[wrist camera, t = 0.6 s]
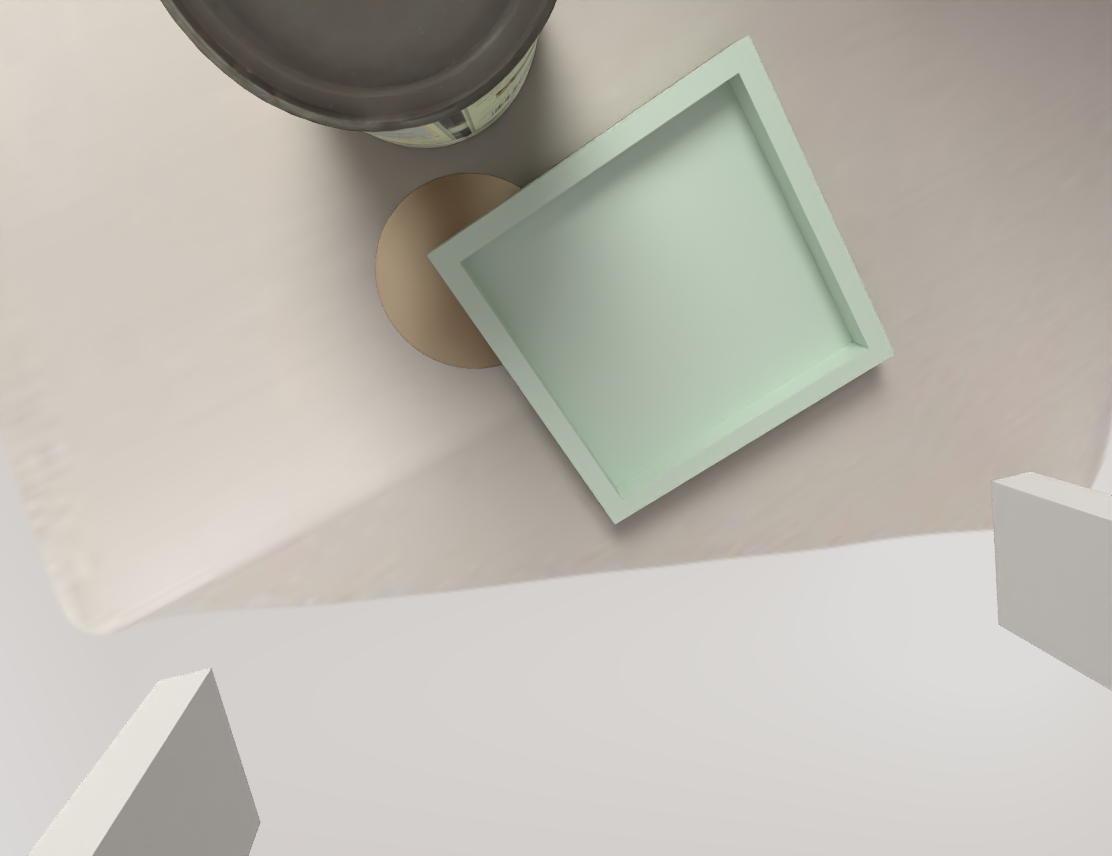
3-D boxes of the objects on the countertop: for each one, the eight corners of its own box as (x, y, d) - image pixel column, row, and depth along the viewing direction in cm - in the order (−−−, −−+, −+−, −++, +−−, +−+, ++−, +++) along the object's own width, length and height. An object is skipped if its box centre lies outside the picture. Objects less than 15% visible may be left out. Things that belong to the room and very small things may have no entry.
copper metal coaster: (498, 132, 31) (498, 131, 30) (602, 300, 34) (603, 302, 33) (336, 245, 32) (334, 246, 31) (451, 399, 35) (450, 402, 34)
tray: (732, 44, 30) (749, 34, 28) (872, 344, 35) (895, 354, 33) (430, 250, 32) (426, 255, 30) (608, 506, 37) (614, 524, 35)
